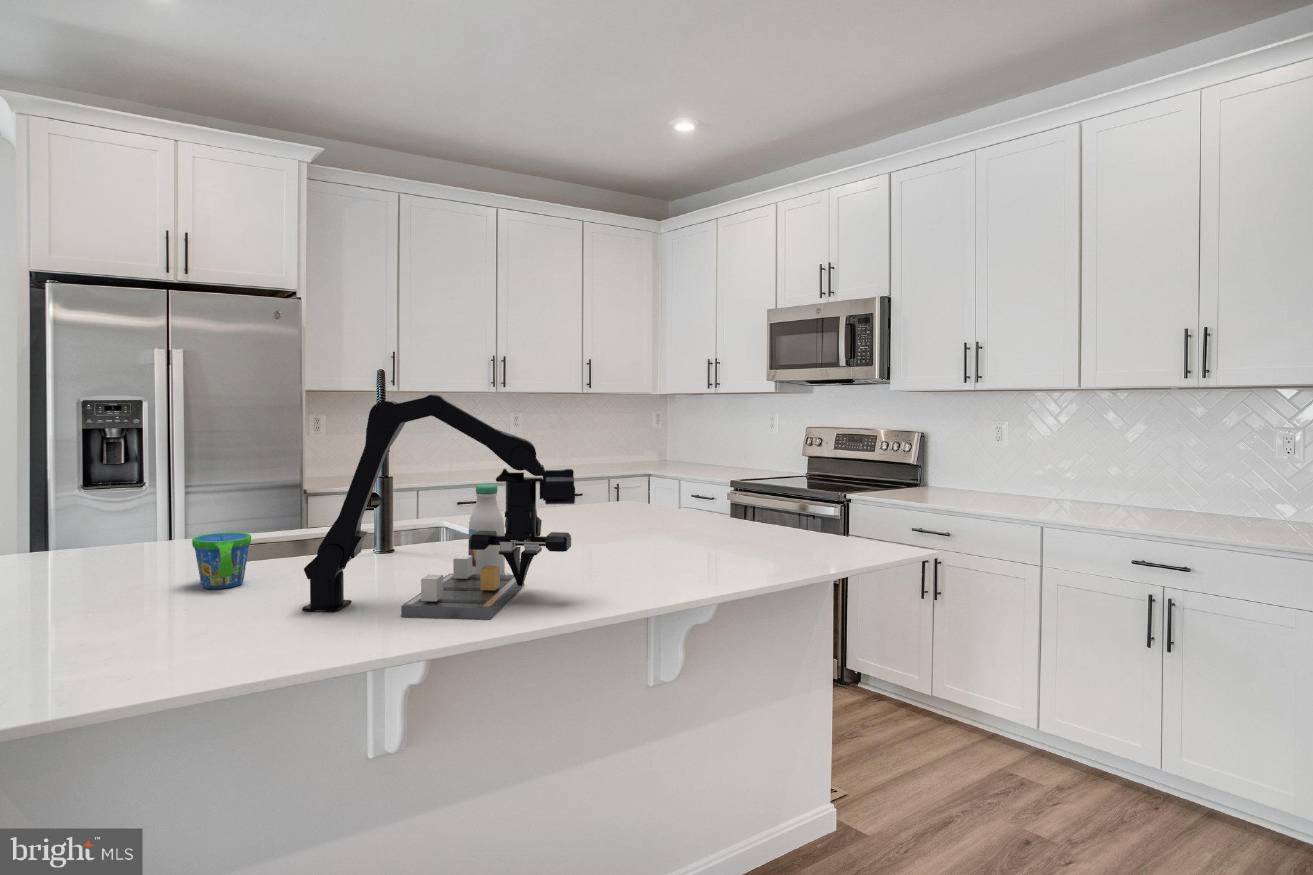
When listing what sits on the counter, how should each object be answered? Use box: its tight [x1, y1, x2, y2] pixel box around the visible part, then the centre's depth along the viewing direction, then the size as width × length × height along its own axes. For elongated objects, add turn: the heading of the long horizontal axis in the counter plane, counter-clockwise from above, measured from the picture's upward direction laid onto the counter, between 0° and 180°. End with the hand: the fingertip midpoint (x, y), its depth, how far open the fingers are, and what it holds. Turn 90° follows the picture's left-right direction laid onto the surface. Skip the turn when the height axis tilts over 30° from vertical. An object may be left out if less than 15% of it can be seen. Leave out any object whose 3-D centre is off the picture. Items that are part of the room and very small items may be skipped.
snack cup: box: [191, 532, 252, 590], centre depth 159 cm, size 16×10×10 cm
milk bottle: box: [467, 484, 506, 575], centre depth 170 cm, size 8×8×20 cm
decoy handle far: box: [452, 554, 472, 579], centre depth 159 cm, size 4×3×4 cm
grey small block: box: [420, 573, 444, 601], centre depth 141 cm, size 4×3×4 cm
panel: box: [400, 573, 525, 620], centre depth 150 cm, size 26×16×2 cm, turn 177°
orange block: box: [480, 565, 500, 590], centre depth 150 cm, size 4×3×4 cm
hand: (520, 585), depth 149 cm, fingers closed
